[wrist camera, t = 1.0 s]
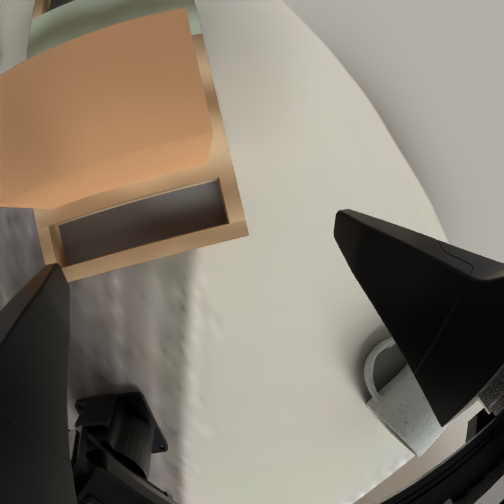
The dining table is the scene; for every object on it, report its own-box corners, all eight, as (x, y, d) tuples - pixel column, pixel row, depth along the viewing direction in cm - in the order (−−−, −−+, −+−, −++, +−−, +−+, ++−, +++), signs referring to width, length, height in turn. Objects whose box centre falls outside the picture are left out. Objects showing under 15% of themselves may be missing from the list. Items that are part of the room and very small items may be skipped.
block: (207, 163, 18) (213, 132, 12) (51, 209, 17) (-9, 205, 10) (187, 69, 18) (185, 7, 11) (40, 116, 16) (-11, 81, 9)
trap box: (244, 234, 21) (248, 235, 19) (62, 281, 19) (51, 286, 17) (180, -44, 18) (180, -57, 16) (44, -3, 16) (38, -13, 14)
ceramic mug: (439, 373, 26) (485, 402, 19) (385, 428, 26) (424, 468, 18) (401, 310, 25) (460, 336, 17) (336, 376, 24) (380, 423, 17)
